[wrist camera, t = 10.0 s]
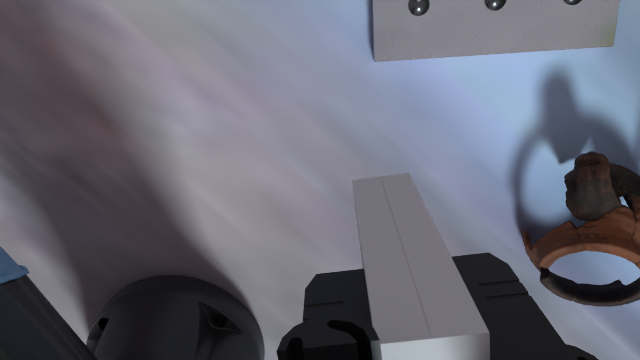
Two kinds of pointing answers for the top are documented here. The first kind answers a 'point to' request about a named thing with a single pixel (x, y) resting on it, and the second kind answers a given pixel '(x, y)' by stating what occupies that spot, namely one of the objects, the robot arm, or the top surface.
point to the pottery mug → (593, 230)
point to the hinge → (488, 27)
